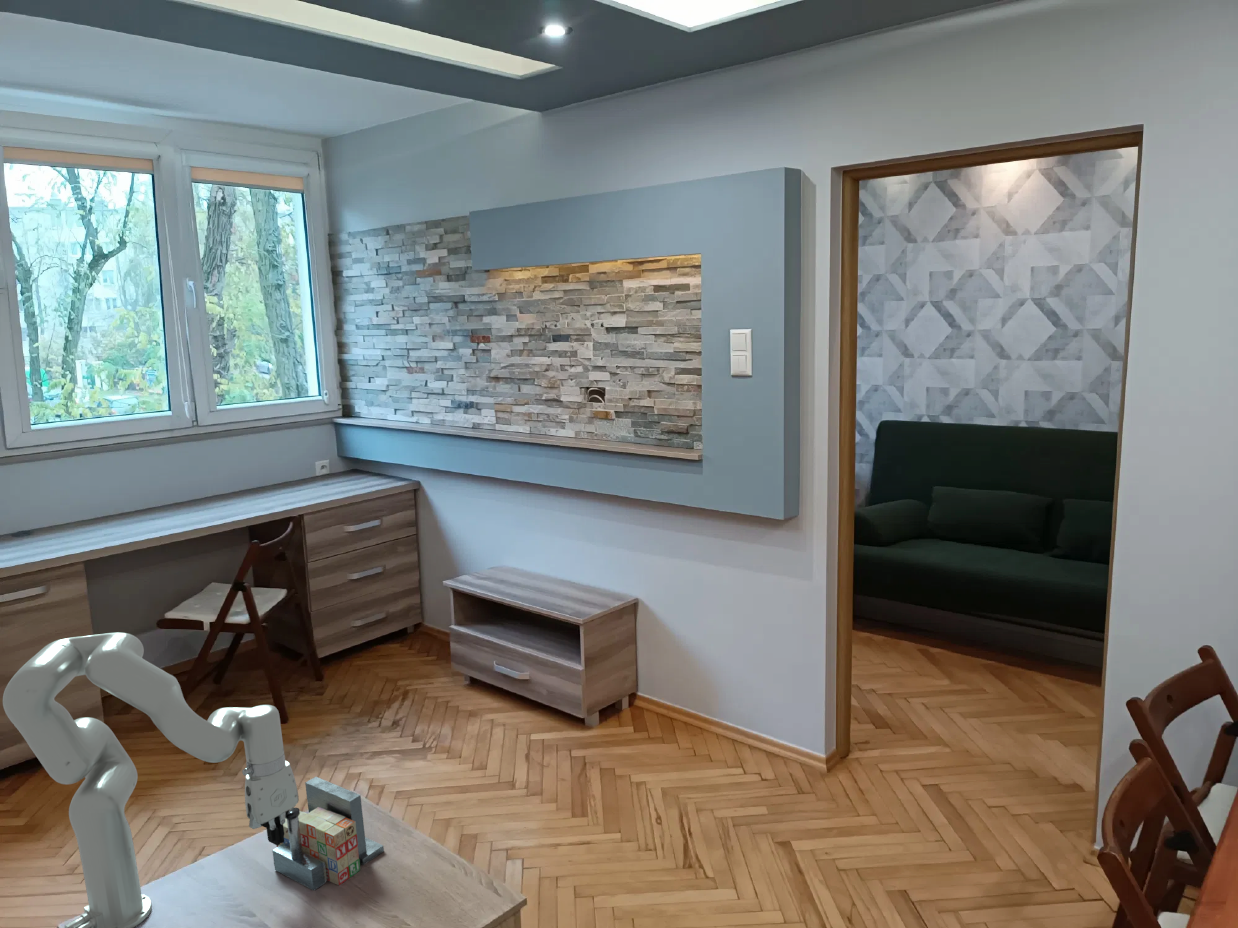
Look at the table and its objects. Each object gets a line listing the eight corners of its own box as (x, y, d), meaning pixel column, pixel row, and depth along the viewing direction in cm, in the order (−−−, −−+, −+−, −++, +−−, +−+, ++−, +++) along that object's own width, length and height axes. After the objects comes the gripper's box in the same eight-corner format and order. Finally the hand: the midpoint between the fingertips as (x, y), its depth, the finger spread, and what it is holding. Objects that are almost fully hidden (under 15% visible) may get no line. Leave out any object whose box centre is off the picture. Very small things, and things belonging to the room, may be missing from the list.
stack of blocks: (276, 857, 205) (270, 809, 203) (299, 843, 210) (293, 795, 208) (339, 885, 193) (333, 834, 191) (361, 869, 199) (355, 820, 196)
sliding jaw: (313, 890, 192) (305, 824, 189) (274, 869, 200) (266, 806, 197) (327, 881, 195) (319, 816, 192) (288, 861, 203) (280, 798, 200)
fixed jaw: (357, 868, 199) (350, 803, 196) (308, 844, 209) (300, 782, 206) (384, 851, 205) (377, 787, 202) (334, 828, 215) (327, 767, 212)
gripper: (244, 784, 180) (255, 865, 183) (307, 752, 192) (316, 829, 195) (223, 775, 184) (235, 854, 188) (286, 744, 196) (296, 819, 200)
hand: (276, 841), depth 191 cm, fingers closed
